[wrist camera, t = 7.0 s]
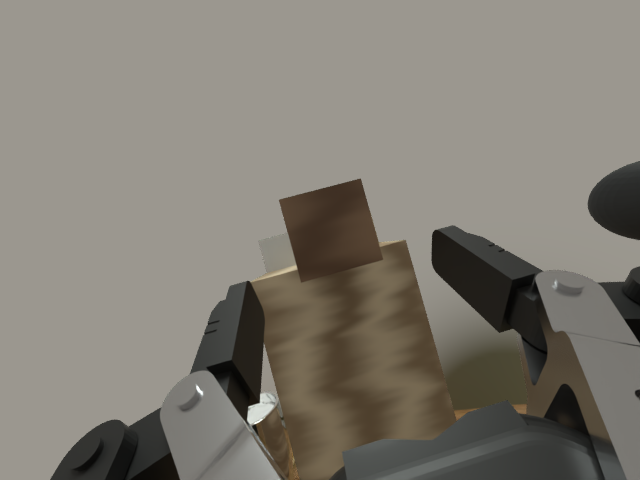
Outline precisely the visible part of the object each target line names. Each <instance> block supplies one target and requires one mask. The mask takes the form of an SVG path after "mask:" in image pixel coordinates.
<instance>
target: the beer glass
mask: <svg viewBox="0 0 640 480" xmlns="http://www.w3.org/2000/svg"><path fill="white" fill-rule="evenodd" d="M247 421H248V422H249V424H250V425H251V426H252V428H253V429H254V431H255V432H256V434H257V435H258V437H259V438H260V440H261V441H262V443H263V444H264V445H265V447H266V448H267V450H268V451H269V453H270V454H271V456H272V457H273V459H274V460H275V462H276V463H277V465H278V466H279V467H280V469H281V470H282V472H283V473H284V475H285V476H286V477H287V479H288V480H295V479H294V472H293V462H292V450H291V444H290V440H289V436H288V432H287V428H286V424H285V421H284V417H283V413H282V409H281V405H280V402H279V399H278V395H277V394H276V393H275V392H271V391H265V392H260V403H258V404H255V405H252V406H249V407H248V417H247Z"/></svg>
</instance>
